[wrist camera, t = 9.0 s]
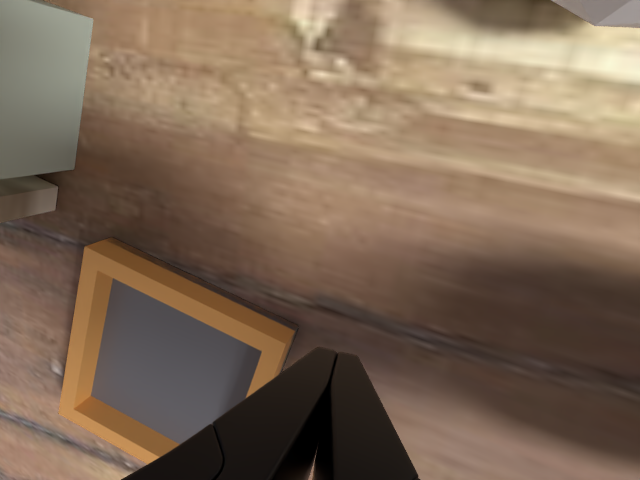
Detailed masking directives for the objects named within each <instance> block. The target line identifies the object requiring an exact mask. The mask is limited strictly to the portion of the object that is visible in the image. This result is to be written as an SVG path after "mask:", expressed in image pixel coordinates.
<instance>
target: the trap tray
mask: <svg viewBox="0 0 640 480" xmlns="http://www.w3.org/2000/svg"><path fill="white" fill-rule="evenodd" d="M298 327H299V326H298V325H296V324H294V323H292V322H290V321H288V320H285V319H283V318H281V317H279V316H277V315H275V314H273V313H271V312H269V311H266V310H264V309H262V308H260V307H258V306H256V305H254V304H252V303H250V302H248V301H245V300H243V299H241V298H239V297H237V296H235V295H233V294H231V293H229V292H226V291H224V290H222V289H220V288H218V287H216V286H214V285H212V284H210V283H208V282H205V281H203V280H201V279H199V278H197V277H195V276H193V275H191V274H189V273H186V272H184V271H182V270H180V269H178V268H176V267H174V266H172V265H170V264H168V263H165V262H163V261H161V260H159V259H157V258H155V257H153V256H151V255H149V254H146V253H144V252H142V251H140V250H138V249H136V248H134V247H132V246H130V245H127V244H125V243H123V242H121V241H119V240H117V239H115V238H113V237H110V238H107V239H105V240H102V241H99V242H96V243H93V244H90V245H88V246H85V247H84V253H83V260H82V266H81V273H80V279H79V285H78V292H77V298H76V304H75V311H74V317H73V324H72V330H71V336H70V343H69V349H68V355H67V362H66V368H65V375H64V381H63V387H62V394H61V400H60V406H59V413H58V414H60V415H61V416H63V417H65V418H67V419H69V420H70V421H72V422H74V423H76V424H77V425H79V426H81V427H83V428H85V429H86V430H88V431H90V432H92V433H93V434H95V435H97V436H99V437H100V438H102V439H104V440H106V441H108V442H109V443H111V444H113V445H115V446H116V447H118V448H120V449H122V450H123V451H125V452H127V453H129V454H131V455H132V456H134V457H136V458H138V459H139V460H141V461H143V462H145V463H147V464H149V463H151V462H152V461H154V460H156V459H158V458H159V457H161V456H163V455H164V454H166V453H168V452H169V451H171V450H172V449H174V448H175V447H177V446H178V445H180V444H181V443H183V442H184V441H186V440H187V439H189V438H190V437H192V436H193V435H195V434H196V433H198V432H199V431H200V430H202V429H203V428H205V427H206V426H207V425H209V424H212V422H213V421H215V420H216V419H217V418H219V417H220V416H222V415H223V414H224V413H226V412H227V411H229V410H230V409H231V408H233V407H234V406H236V405H237V404H238V403H240V402H241V401H243V400H244V399H245V398H247V397H248V396H250V395H251V394H252V393H254V392H255V391H257V390H258V389H259V388H261V387H262V386H264V385H265V384H266V383H268V382H269V381H271V380H272V379H273V378H275V377H276V376H278V375H279V374H280V373H281V372H282V369H283V367H284V364H285V361H286V359H287V356H288V353H289V351H290V348H291V346H292V343H293V340H294V338H295V335H296V332H297V330H298Z"/></svg>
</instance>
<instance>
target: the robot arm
mask: <svg viewBox="0 0 640 480" xmlns="http://www.w3.org/2000/svg"><path fill="white" fill-rule="evenodd" d="M317 447H318V448H317ZM316 451H317V453H316ZM315 455H316V458H315ZM314 459H315V463H314ZM313 463H314V471H313V479H312V480H420V479H419V478H418V474H417V472H416V470H415V468H414V466H413V464H412V462H411V460H410V458H409V456H408V454H407V452H406V450H405V448H404V446H403V444H402V442H401V440H400V438H399V436H398V434H397V432H396V430H395V428H394V426H393V424H392V422H391V420H390V419H389V417H388V415H387V413H386V411H385V409H384V407H383V405H382V403H381V401H380V399H379V397H378V395H377V393H376V391H375V389H374V387H373V385H372V383H371V381H370V379H369V377H368V375H367V373H366V371H365V369H364V367H363V365H362V363H361V361H360V359H359V357H358V356H356V355H352V354H348V353H344V352H339V353H338V354H337V352H336V351H334V350H331V349H327V348H322V347H317V348H315V349H314V350H313V351H311V352H310V353H308V354H307V355H306V356H304V357H303V358H301V359H300V360H299V361H297V362H296V363H294V364H293V365H292V366H290V367H289V368H287V369H286V370H285V371H283V372H282V373H280V374H279V375H278V376H276V377H275V378H273V379H272V380H271V381H269V382H268V383H266V384H265V385H264V386H262V387H261V388H259V389H258V390H257V391H255V392H254V393H252V394H251V395H250V396H248V397H247V398H245V399H244V400H243V401H241V402H240V403H238V404H237V405H236V406H234V407H233V408H231V409H230V410H229V411H227V412H226V413H224V414H223V415H222V416H220V417H219V418H217V419H216V420H215V421H213V422H212V424H209V425H207V426H206V427H205V428H203V429H202V430H200V431H199V432H198V433H196V434H195V435H193V436H192V437H190V438H189V439H187V440H186V441H184V442H183V443H181V444H180V445H178V446H177V447H175V448H174V449H172V450H171V451H169V452H168V453H166V454H164V455H163V456H161V457H159V458H158V459H156V460H154V461H152V462H151V463H149V464H147V465H146V466H144V467H142V468H141V469H139V470H137V471H135V472H134V473H132V474H130V475H128V476H127V477H125V478H123V479H121V480H308V478H309V476H310V473H311V469H312V466H313Z"/></svg>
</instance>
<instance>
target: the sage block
mask: <svg viewBox="0 0 640 480" xmlns="http://www.w3.org/2000/svg"><path fill="white" fill-rule="evenodd" d="M92 26H93V19H92V18H90V17H87V16H84V15H81V14H79V13H76V12H73V11H70V10H68V9H65V8H62V7H60V6H57V5H54V4H51V3H49V2H46V1H43V0H0V179H8V178H15V177H22V176H30V175H37V174H44V173H52V172H59V171H66V170H74V168H75V160H76V152H77V145H78V137H79V129H80V121H81V113H82V105H83V97H84V89H85V81H86V74H87V66H88V58H89V50H90V42H91V34H92Z"/></svg>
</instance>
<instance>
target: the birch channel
mask: <svg viewBox="0 0 640 480" xmlns="http://www.w3.org/2000/svg"><path fill="white" fill-rule="evenodd" d="M57 193H58V186H56V185H54V184H51V183H49V182H47V181H45V180H43V179H41V178H38V177H36V176H34V175H30V176H22V177H15V178H8V179H0V223H3V222H7V221H11V220H15V219H20V218H24V217H28V216H33V215H37V214H41V213H45V212H50V211H54V210H55V209H56V201H57Z"/></svg>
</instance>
